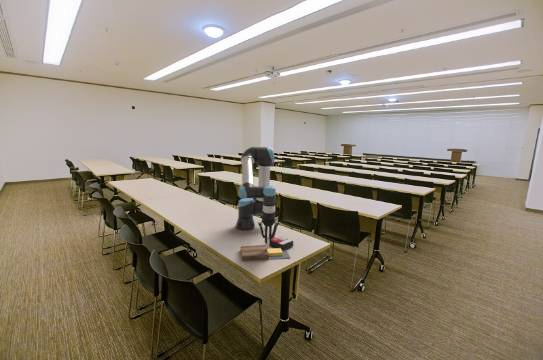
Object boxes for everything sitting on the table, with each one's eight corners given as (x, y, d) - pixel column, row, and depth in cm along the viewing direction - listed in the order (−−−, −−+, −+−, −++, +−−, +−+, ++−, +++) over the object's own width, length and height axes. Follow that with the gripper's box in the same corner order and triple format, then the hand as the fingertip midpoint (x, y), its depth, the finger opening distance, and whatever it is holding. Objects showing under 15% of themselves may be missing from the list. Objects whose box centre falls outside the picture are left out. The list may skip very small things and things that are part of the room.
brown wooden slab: (240, 250, 164) (240, 246, 163) (265, 249, 167) (265, 245, 166) (242, 261, 150) (242, 256, 150) (268, 259, 153) (269, 254, 153)
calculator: (277, 234, 182) (293, 239, 172) (277, 240, 183) (293, 245, 172) (266, 238, 175) (282, 244, 164) (266, 244, 175) (282, 250, 165)
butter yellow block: (266, 251, 163) (266, 248, 163) (280, 251, 164) (280, 248, 164) (268, 256, 157) (268, 253, 157) (282, 255, 159) (282, 252, 158)
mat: (265, 249, 167) (265, 248, 167) (285, 248, 170) (285, 247, 169) (269, 259, 154) (269, 259, 153) (290, 258, 156) (290, 257, 156)
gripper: (259, 213, 150) (258, 251, 155) (280, 213, 153) (279, 250, 157) (257, 210, 158) (256, 245, 162) (278, 209, 160) (276, 244, 164)
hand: (267, 247), depth 159 cm, fingers closed
